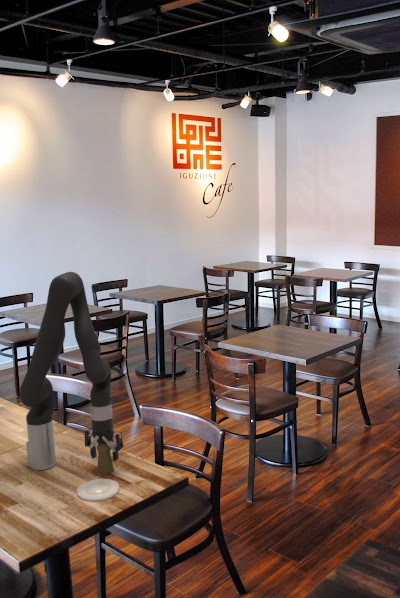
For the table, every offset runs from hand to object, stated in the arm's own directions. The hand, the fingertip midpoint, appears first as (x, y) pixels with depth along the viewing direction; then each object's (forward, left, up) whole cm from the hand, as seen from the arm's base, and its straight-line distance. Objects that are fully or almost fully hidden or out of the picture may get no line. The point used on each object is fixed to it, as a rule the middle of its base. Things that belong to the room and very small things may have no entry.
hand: (104, 459), depth 220 cm
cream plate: (+5, -14, -5) cm, 16 cm away
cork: (0, 0, -5) cm, 5 cm away
